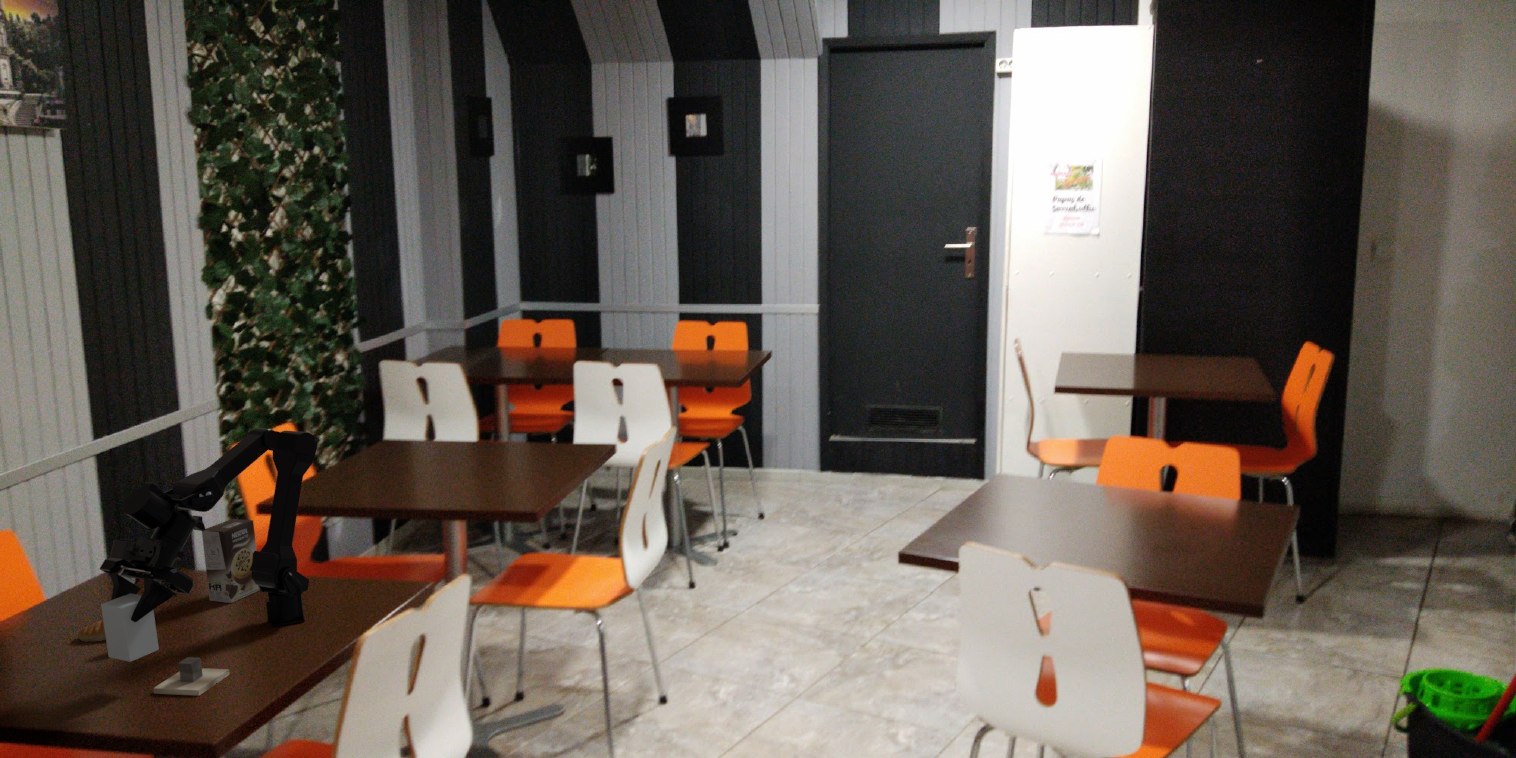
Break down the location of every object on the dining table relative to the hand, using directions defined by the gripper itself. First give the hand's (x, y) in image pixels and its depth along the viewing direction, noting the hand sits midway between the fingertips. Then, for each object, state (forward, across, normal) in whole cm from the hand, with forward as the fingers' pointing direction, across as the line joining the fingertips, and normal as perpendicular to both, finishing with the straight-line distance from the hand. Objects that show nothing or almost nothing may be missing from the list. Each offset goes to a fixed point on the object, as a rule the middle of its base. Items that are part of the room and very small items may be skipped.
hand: (121, 618), depth 216 cm
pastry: (-1, -29, +21) cm, 36 cm away
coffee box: (-20, -23, +40) cm, 50 cm away
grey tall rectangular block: (+4, 0, +6) cm, 7 cm away
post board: (+5, +8, +14) cm, 17 cm away
